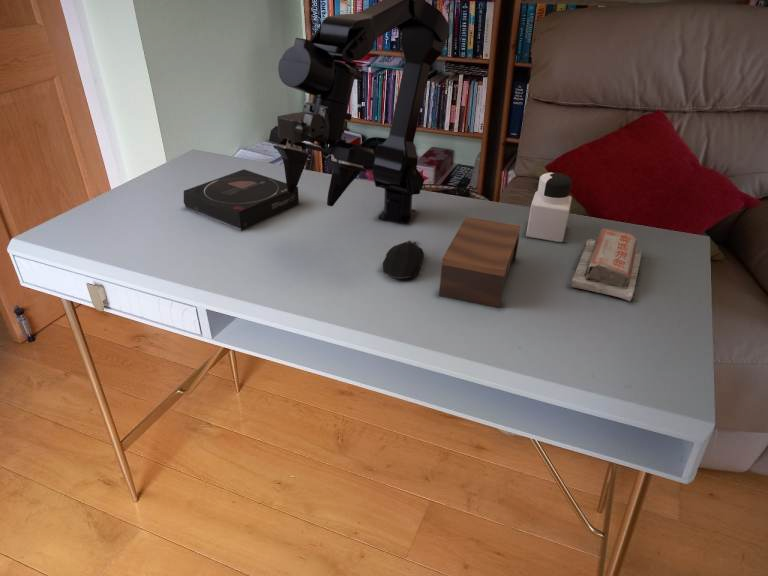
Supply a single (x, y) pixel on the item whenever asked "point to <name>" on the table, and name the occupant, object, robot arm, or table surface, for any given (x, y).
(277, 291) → the table surface
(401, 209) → the robot arm
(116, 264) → the table surface
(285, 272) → the table surface
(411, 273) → the gaming mouse
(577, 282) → the packaged product
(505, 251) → the walnut wood stand
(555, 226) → the medicine bottle
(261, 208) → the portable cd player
